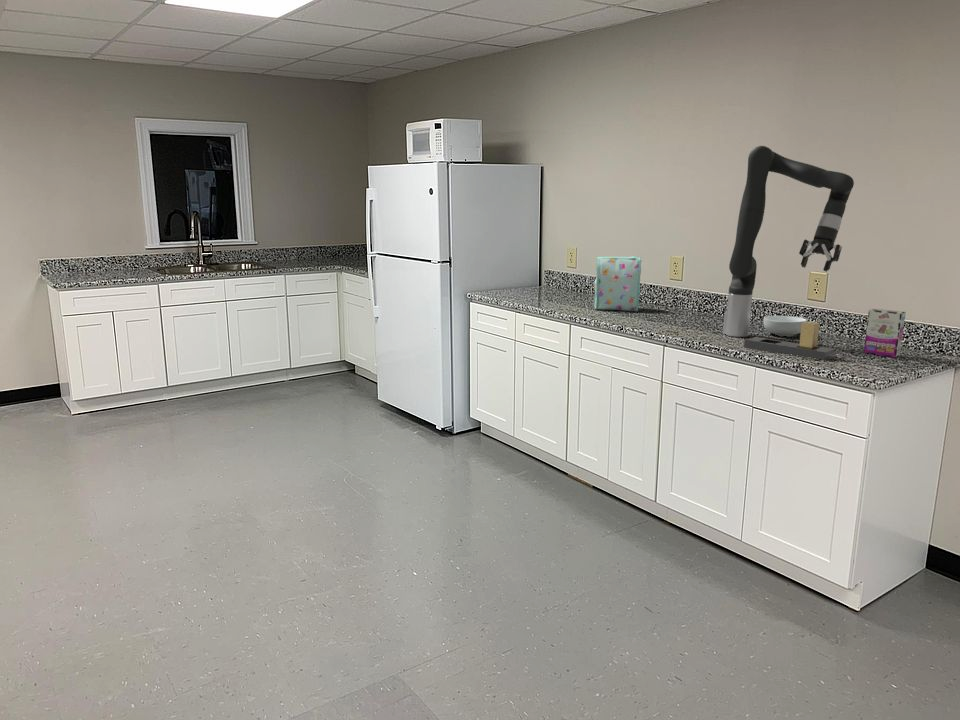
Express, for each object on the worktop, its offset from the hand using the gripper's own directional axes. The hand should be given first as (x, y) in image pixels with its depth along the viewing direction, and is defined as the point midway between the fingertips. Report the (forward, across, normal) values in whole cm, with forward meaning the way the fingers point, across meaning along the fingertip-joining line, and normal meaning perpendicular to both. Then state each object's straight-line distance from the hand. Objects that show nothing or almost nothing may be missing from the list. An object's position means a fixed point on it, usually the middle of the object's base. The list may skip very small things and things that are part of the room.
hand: (814, 269), depth 280 cm
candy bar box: (+25, +29, +13) cm, 40 cm away
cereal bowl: (+26, -14, +23) cm, 37 cm away
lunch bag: (+33, -102, +26) cm, 111 cm away
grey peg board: (+34, +6, -11) cm, 36 cm away
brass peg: (+33, +13, -10) cm, 37 cm away
